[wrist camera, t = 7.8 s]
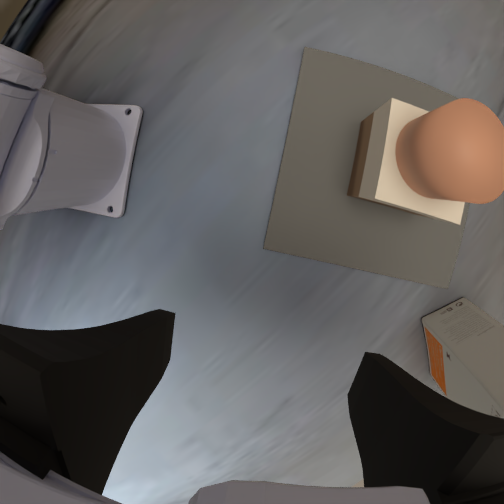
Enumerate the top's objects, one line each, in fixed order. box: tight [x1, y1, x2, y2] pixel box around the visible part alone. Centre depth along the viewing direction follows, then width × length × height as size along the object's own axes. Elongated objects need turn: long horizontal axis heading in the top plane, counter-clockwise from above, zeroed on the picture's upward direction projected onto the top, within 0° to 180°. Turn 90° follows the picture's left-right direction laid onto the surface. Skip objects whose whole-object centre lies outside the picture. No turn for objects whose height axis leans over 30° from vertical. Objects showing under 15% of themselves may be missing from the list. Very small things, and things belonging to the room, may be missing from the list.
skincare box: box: [422, 298, 504, 419], centre depth 15 cm, size 6×4×12 cm
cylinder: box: [395, 98, 504, 204], centre depth 11 cm, size 4×4×4 cm
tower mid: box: [359, 98, 465, 225], centre depth 14 cm, size 5×5×3 cm
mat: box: [263, 47, 470, 289], centre depth 19 cm, size 14×14×1 cm
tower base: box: [347, 112, 430, 218], centre depth 17 cm, size 5×5×3 cm
